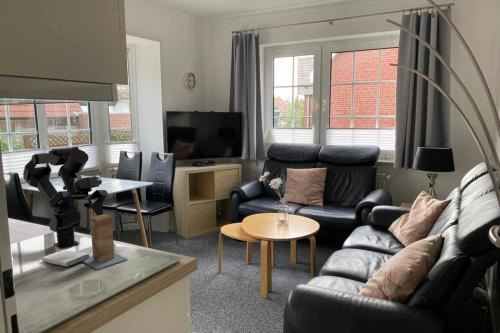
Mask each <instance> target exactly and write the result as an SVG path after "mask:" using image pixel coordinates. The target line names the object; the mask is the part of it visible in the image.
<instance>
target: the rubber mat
mask: <svg viewBox="0 0 500 333" xmlns="http://www.w3.org/2000/svg"><path fill="white" fill-rule="evenodd" d="M114 257H115V258H114V259H111V260H108V261H105V262H102V263H98V262H96V261H94V260H93V255H92V256H91V255H90V257H89V258H88V259H86V260H83V261H81V263H83V264H85V265H87V266H89V267H90V268H92V269H94V270H95V271H99V270H102V269H105V268H108V267H112V266H114V265H117V264H121V263H124V262H126V261H127V262H128V258H126V257H124V256H122V255H120V254H118V253H115V252H114Z"/></svg>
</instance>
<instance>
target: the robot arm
mask: <svg viewBox="0 0 500 333" xmlns="http://www.w3.org/2000/svg"><path fill="white" fill-rule="evenodd" d="M88 161H89V154H88V153H86V151H84V150H82V149H80V148H79V147H78V146H72V147H66V148H65V147H63V148H62V147H61V148H52V149H50V150H48V152H40V153H34V154H32V156H31V159H30V160H29V161H28V162H27V163H26V164H25V165H24V168H23V173H22V175H23V176H22V177H23V179H24V181H25V182H26V183H27V184H28V185H29V186H30V187H33V188H36V189H37V191H39V192H40V194H41V196H42V197H43V199H44V200H45V201H46V203H47V204H48V206H49V208H50V209H51V211H52V215H51V219H50V221H49V223H48V227H49V229H50V230H49V231H52V232H54V233H55V234H56V242H55V243H53V246H55V247H57V248H58V249H59V250H64V249H65V248H70V247H74V246H77V245H79V244H80V242H78V241H76V236H75V228H79V227H80V224H81V219H82V218H81V212H80V211H79V210H78V207H77V206H76V205H75V202H79V201H81V202H82V201H88V203H89V204H90V205H89V206H90V208H91V209H92V210H93V212H94V213H95V215H96V216H99V215H103V214H104V208H103V207H104V201H105V200H107V198H108V197H109V192H108V191H107V190H106V189H96V190H94V191H93V188H98V187H99V188H100V185H102V184H103V180H102V178H101V176H100V175H94V176H93V175H92V176H87V177H82V175H81V172H82V171H83V169H84V167H85V166H86V164H87V162H88ZM44 164H45V166H38V167H37V165H44ZM51 166H54V167H56V166H60V167H59V169H58V173H57V177H60V178H61V180H62V182H63V185H64V186H62V190H60V191H59V190H57V189H56V187H55V186H54V185H53V183H52V181H51V180H50V177H51V174H52V173H51V172H52V168H51ZM92 191H93V192H92Z"/></svg>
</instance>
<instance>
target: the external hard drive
mask: <svg viewBox="0 0 500 333" xmlns="http://www.w3.org/2000/svg"><path fill="white" fill-rule="evenodd" d="M89 257H91V255H90V253H86V252H81V251H75V250H68V249H61V250H59V251H56V252H54V253H51V254H48V255H44V256H42V258H41V261H42V262H44V263H49V264H53V265H56V266H61V267H71V266H73V265H76V264H78V263H80V262H81V263H82V261H83V260H86V259H88V258H89Z"/></svg>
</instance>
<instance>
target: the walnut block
mask: <svg viewBox="0 0 500 333" xmlns="http://www.w3.org/2000/svg"><path fill="white" fill-rule="evenodd" d="M89 222H90V223H89V224H90V235H91V248H92V250H91V251H92V256H93V260H94V261H96V262H98V263H102V262H105V261H108V260H111V259H114V258H115V257H114V253H115V247H114V246H115V245H114V243H115V242H114V232H113V231H114V230H113V229H114V228H113V216H112V215H110V214H106V213H103V215H99V216H97V215H96V216H95V215H94V216H91V217H90V218H89Z"/></svg>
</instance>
